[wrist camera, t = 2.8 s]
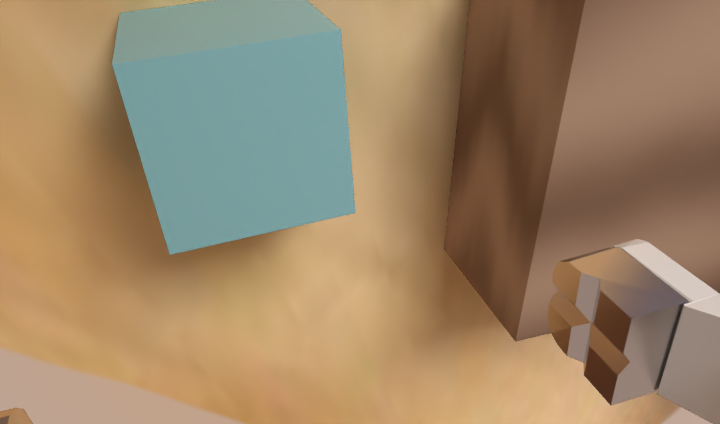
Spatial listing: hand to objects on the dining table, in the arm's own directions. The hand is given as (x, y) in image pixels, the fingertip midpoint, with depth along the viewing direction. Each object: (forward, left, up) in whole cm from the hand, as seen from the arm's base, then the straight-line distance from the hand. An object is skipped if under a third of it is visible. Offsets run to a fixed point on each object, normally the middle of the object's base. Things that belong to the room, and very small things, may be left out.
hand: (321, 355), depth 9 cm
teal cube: (0, 0, -12) cm, 12 cm away
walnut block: (+3, +14, -12) cm, 19 cm away
